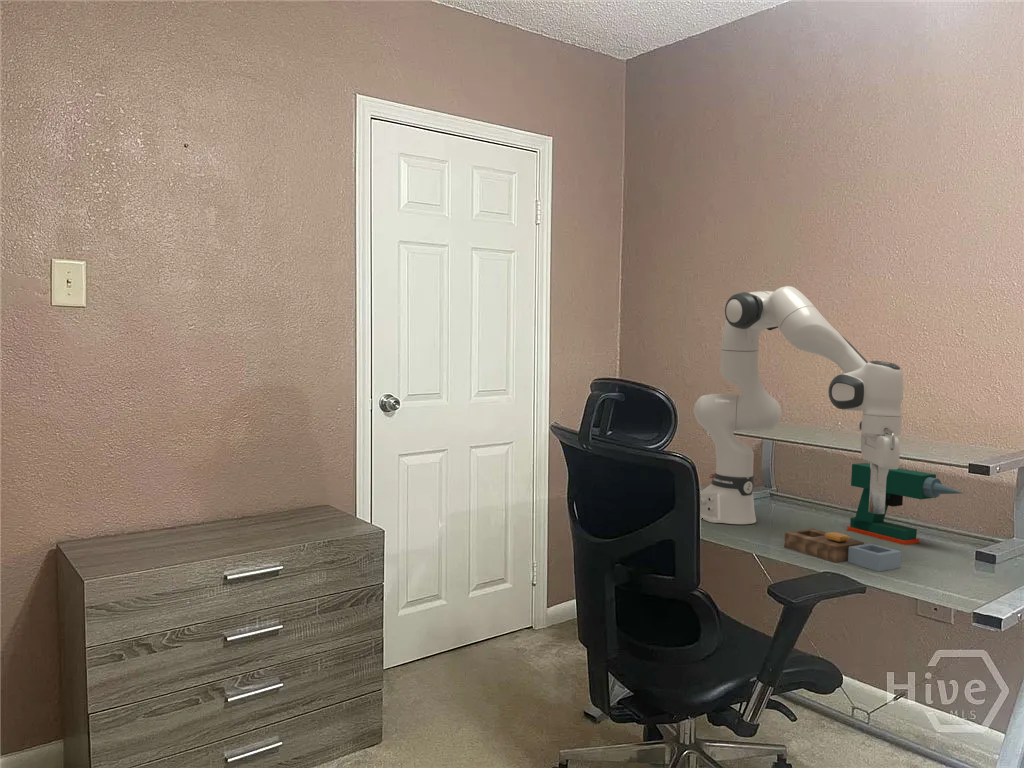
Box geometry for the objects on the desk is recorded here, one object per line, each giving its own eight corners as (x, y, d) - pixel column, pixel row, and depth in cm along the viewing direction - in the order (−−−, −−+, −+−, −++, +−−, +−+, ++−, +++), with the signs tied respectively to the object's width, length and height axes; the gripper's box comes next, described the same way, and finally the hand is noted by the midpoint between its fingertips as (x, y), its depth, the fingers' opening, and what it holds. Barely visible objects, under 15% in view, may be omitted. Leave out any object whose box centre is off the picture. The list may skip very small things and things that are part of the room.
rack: (847, 562, 195) (848, 546, 194) (869, 558, 199) (870, 543, 199) (878, 571, 187) (879, 555, 187) (900, 567, 191) (901, 551, 191)
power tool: (968, 554, 206) (972, 480, 205) (953, 557, 202) (957, 481, 201) (862, 528, 233) (865, 462, 232) (847, 530, 230) (850, 463, 229)
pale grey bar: (865, 511, 193) (868, 464, 192) (873, 510, 195) (875, 463, 194) (879, 514, 190) (882, 466, 189) (887, 513, 192) (890, 465, 191)
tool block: (784, 547, 208) (785, 532, 208) (811, 542, 213) (812, 528, 213) (835, 562, 194) (836, 546, 194) (863, 557, 199) (864, 542, 199)
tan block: (824, 552, 201) (825, 533, 201) (833, 551, 203) (834, 531, 203) (839, 557, 197) (840, 537, 197) (848, 555, 199) (849, 535, 199)
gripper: (908, 431, 180) (905, 490, 181) (883, 423, 200) (880, 476, 201) (879, 430, 182) (876, 488, 182) (857, 422, 202) (854, 475, 202)
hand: (878, 482), depth 192 cm, fingers closed on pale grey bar, 4 cm apart
